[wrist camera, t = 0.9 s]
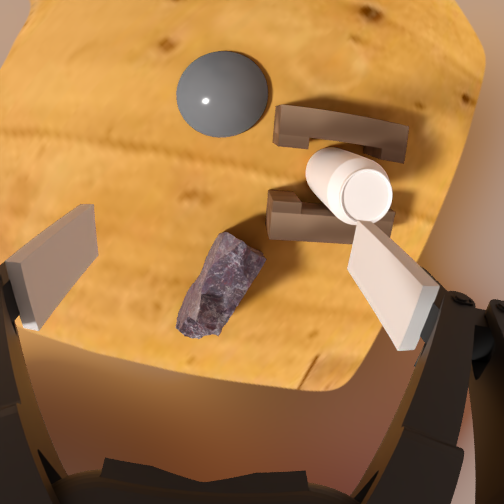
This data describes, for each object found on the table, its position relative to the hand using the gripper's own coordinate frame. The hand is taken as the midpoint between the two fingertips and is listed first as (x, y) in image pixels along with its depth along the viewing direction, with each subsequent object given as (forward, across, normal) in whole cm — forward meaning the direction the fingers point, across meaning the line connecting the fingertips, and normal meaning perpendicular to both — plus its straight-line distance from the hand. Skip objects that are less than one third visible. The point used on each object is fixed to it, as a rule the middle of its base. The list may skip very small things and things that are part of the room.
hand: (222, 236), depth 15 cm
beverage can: (+23, +12, 0) cm, 25 cm away
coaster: (+22, -2, +8) cm, 24 cm away
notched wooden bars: (+22, +12, 0) cm, 25 cm away
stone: (+23, -1, -14) cm, 27 cm away
